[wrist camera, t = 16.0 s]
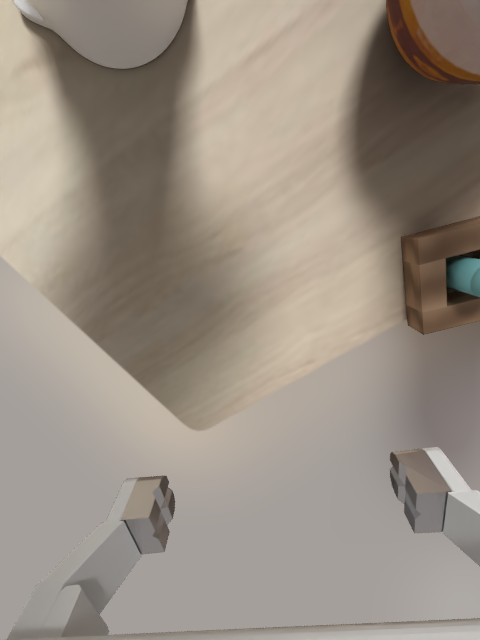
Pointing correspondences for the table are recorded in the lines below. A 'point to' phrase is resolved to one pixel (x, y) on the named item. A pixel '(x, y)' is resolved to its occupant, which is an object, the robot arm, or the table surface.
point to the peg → (463, 274)
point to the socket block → (438, 276)
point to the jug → (438, 37)
